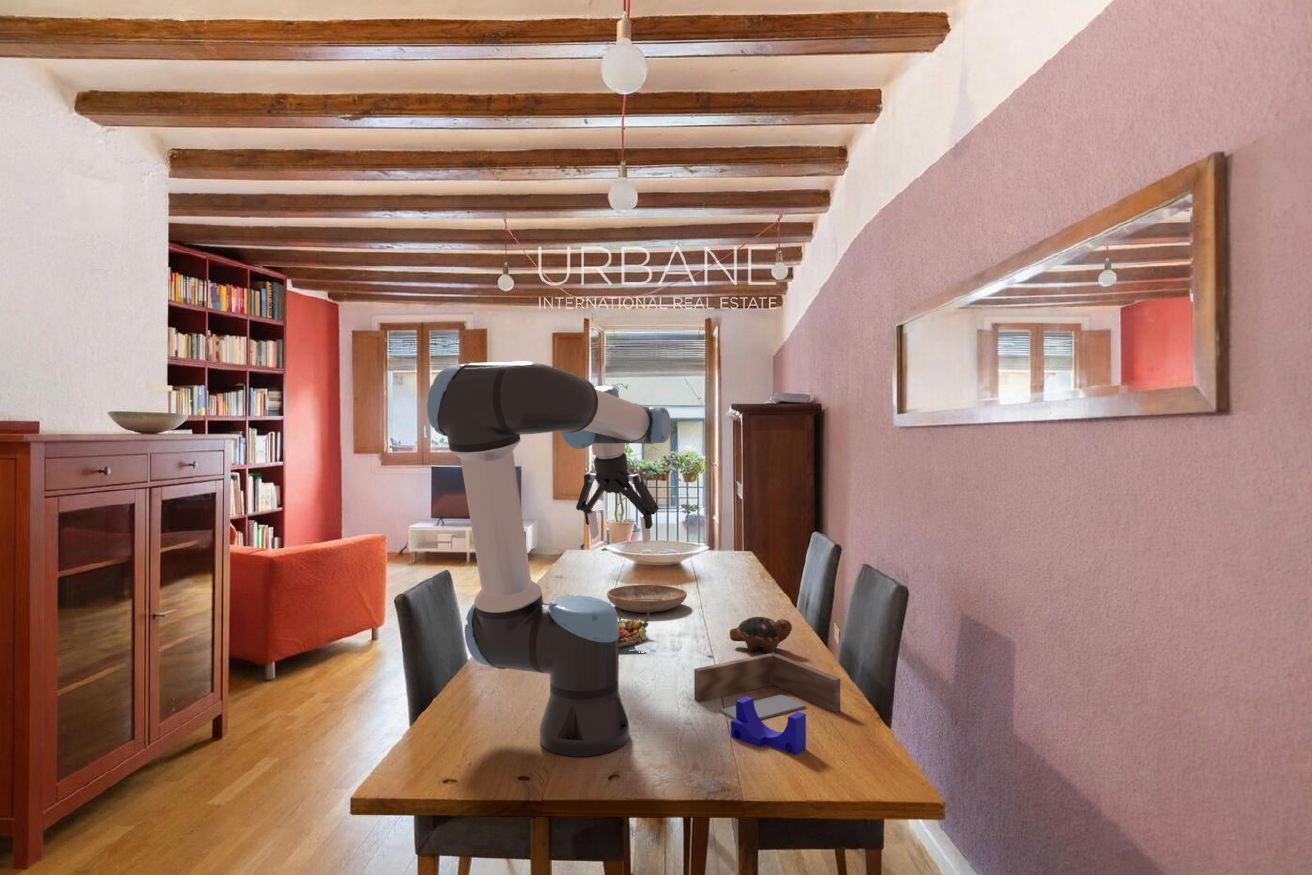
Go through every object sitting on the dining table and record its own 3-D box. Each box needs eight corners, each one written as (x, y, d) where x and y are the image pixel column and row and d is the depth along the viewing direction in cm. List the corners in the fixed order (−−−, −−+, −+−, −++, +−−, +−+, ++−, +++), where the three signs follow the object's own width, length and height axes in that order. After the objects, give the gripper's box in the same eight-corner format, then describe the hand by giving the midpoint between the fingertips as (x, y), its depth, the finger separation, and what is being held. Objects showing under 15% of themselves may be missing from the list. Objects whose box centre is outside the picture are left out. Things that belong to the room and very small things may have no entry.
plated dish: (667, 627, 199) (667, 600, 199) (679, 661, 171) (678, 630, 171) (536, 632, 196) (536, 605, 196) (526, 667, 168) (526, 635, 168)
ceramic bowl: (687, 618, 206) (687, 600, 206) (603, 618, 207) (603, 600, 207) (685, 599, 230) (685, 583, 230) (610, 599, 230) (610, 583, 230)
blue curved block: (730, 738, 126) (730, 703, 126) (746, 730, 129) (746, 696, 129) (791, 758, 118) (790, 721, 118) (805, 750, 121) (805, 713, 121)
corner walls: (756, 733, 127) (756, 699, 127) (694, 699, 144) (694, 668, 144) (840, 710, 138) (840, 678, 138) (773, 681, 154) (773, 652, 154)
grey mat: (742, 724, 131) (742, 722, 131) (719, 711, 137) (719, 709, 137) (805, 707, 139) (805, 705, 139) (781, 696, 145) (781, 694, 145)
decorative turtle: (791, 658, 170) (788, 623, 169) (726, 656, 174) (724, 623, 174) (796, 644, 179) (793, 611, 179) (734, 643, 183) (731, 611, 183)
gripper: (666, 449, 167) (675, 535, 173) (569, 447, 177) (581, 528, 183) (653, 460, 160) (663, 549, 166) (554, 457, 170) (566, 541, 176)
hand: (620, 538), depth 174 cm, fingers open, 13 cm apart
